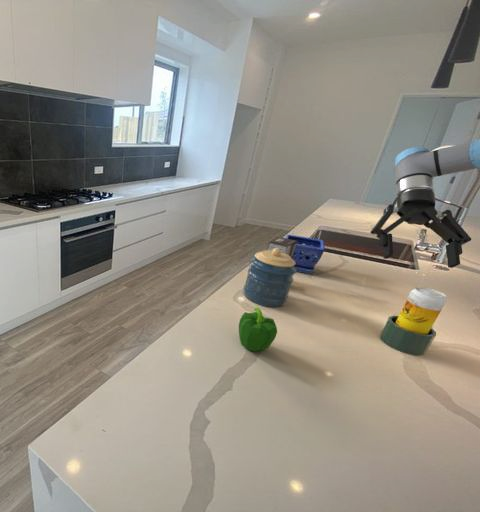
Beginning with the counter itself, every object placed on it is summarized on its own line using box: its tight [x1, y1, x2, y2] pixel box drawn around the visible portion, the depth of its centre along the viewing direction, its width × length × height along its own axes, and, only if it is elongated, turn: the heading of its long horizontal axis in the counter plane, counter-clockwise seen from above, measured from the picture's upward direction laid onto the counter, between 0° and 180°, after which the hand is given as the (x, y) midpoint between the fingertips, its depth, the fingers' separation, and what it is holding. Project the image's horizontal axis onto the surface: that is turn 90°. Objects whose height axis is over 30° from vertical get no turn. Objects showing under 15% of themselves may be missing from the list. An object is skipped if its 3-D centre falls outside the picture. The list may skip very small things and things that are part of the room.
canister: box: [242, 248, 297, 308], centre depth 96 cm, size 13×13×18 cm
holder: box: [379, 315, 437, 356], centre depth 78 cm, size 9×9×6 cm
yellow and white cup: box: [395, 286, 447, 335], centre depth 76 cm, size 6×6×15 cm
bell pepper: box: [238, 306, 278, 352], centre depth 74 cm, size 8×8×10 cm
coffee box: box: [266, 236, 297, 258], centre depth 108 cm, size 9×6×16 cm
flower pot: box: [285, 234, 326, 274], centre depth 121 cm, size 13×13×12 cm
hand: (420, 261), depth 79 cm, fingers open, 13 cm apart
